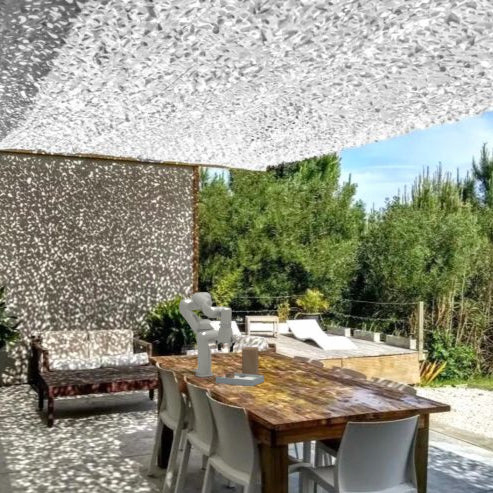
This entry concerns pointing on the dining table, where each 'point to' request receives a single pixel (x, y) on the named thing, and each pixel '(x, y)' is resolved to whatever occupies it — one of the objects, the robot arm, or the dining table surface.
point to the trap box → (241, 379)
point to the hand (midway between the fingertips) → (225, 351)
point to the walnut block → (229, 375)
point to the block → (250, 360)
